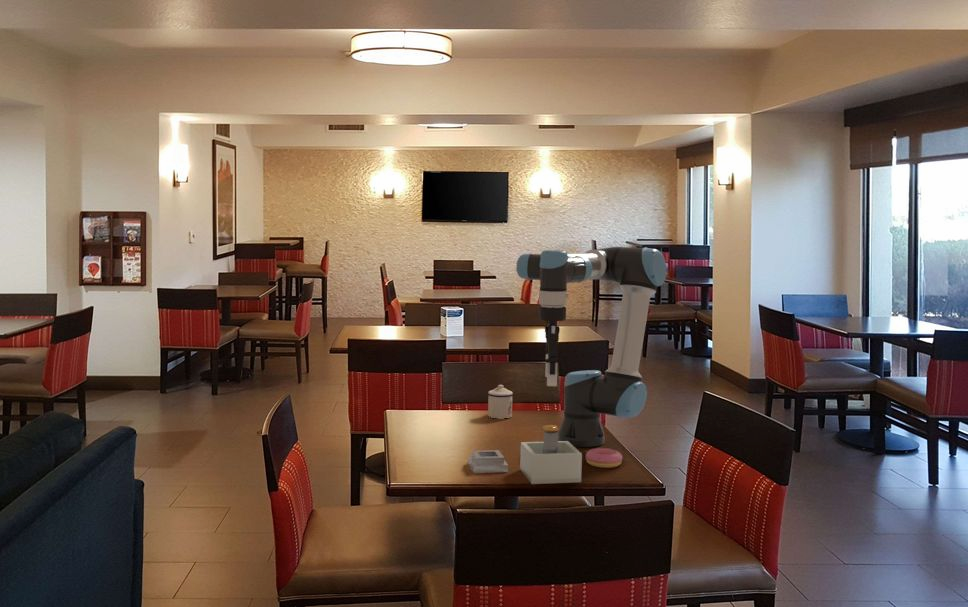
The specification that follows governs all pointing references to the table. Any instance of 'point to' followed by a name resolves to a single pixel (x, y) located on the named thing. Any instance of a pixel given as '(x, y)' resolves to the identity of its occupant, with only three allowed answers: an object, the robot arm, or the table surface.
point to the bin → (550, 463)
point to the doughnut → (603, 457)
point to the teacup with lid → (500, 403)
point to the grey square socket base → (487, 462)
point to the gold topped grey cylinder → (550, 439)
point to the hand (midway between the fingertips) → (550, 381)
